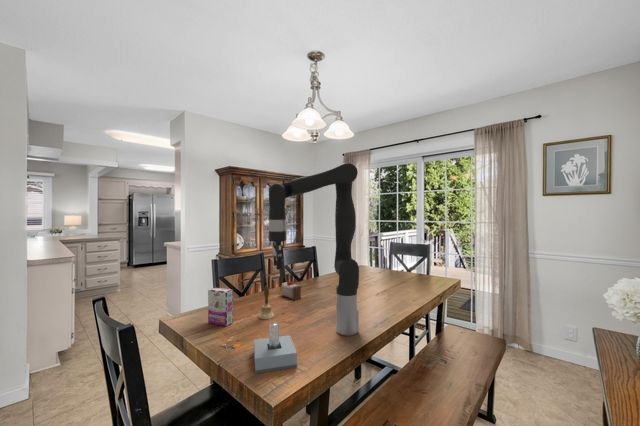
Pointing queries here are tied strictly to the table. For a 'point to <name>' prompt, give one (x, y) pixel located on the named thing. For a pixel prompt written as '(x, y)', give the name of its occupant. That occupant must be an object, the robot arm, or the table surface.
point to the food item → (291, 290)
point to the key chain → (229, 344)
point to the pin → (273, 335)
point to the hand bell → (266, 306)
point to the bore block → (274, 355)
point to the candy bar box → (220, 306)
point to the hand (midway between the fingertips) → (277, 267)
